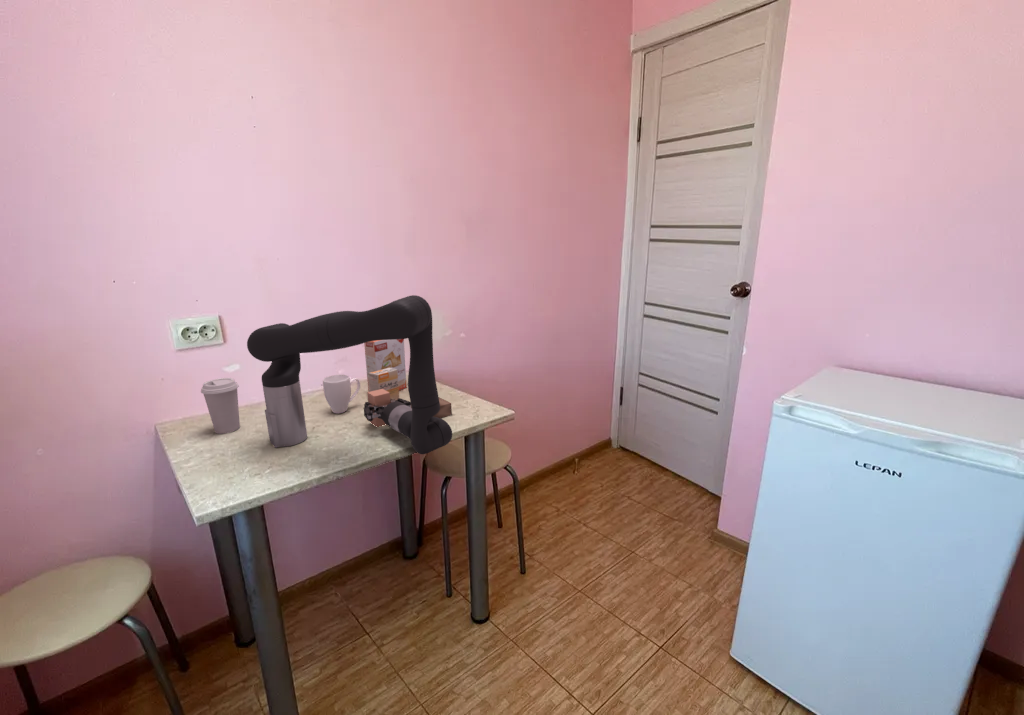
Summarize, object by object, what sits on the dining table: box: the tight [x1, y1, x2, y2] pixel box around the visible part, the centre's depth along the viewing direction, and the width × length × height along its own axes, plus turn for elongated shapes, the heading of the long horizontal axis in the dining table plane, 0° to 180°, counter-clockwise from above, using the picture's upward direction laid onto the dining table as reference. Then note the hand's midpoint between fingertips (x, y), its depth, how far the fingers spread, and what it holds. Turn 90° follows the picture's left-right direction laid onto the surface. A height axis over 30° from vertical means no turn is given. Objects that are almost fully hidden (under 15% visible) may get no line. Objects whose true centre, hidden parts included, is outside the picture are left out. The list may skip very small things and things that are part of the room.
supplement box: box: [369, 368, 400, 400], centre depth 154 cm, size 8×5×13 cm, turn 143°
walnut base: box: [411, 397, 453, 419], centre depth 149 cm, size 10×10×4 cm
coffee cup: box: [200, 377, 241, 435], centre depth 138 cm, size 10×10×15 cm
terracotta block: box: [366, 389, 391, 428], centre depth 142 cm, size 5×5×10 cm
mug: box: [322, 374, 361, 414], centre depth 153 cm, size 12×8×11 cm
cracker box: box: [363, 339, 408, 392], centre depth 169 cm, size 14×6×21 cm, turn 147°
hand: (376, 402), depth 143 cm, fingers open, 5 cm apart
